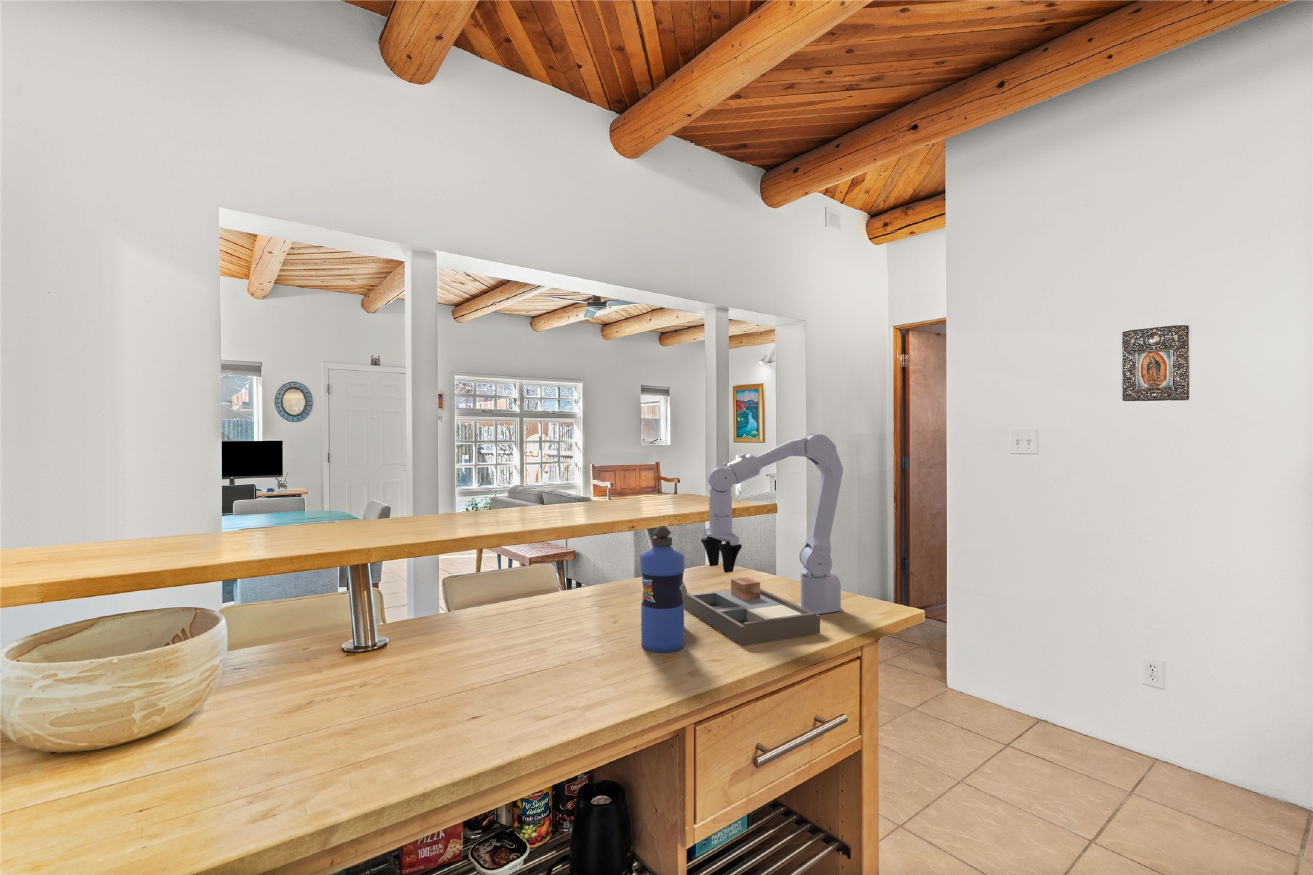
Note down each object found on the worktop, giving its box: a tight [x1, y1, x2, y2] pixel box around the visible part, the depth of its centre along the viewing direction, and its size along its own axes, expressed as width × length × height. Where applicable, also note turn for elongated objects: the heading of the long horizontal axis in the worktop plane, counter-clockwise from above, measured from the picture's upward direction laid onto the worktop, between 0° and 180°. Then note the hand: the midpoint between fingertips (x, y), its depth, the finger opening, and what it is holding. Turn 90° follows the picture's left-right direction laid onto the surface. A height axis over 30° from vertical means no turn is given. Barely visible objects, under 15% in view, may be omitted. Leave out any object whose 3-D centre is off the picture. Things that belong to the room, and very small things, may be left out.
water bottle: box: [639, 526, 685, 654], centre depth 127 cm, size 9×9×25 cm
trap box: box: [684, 588, 821, 647], centre depth 144 cm, size 20×30×4 cm, turn 22°
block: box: [730, 576, 761, 600], centre depth 153 cm, size 5×6×4 cm
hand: (721, 568), depth 153 cm, fingers open, 7 cm apart
